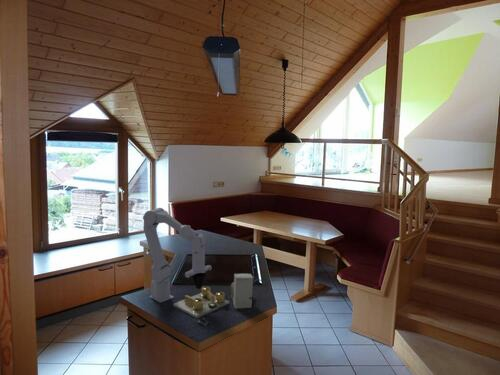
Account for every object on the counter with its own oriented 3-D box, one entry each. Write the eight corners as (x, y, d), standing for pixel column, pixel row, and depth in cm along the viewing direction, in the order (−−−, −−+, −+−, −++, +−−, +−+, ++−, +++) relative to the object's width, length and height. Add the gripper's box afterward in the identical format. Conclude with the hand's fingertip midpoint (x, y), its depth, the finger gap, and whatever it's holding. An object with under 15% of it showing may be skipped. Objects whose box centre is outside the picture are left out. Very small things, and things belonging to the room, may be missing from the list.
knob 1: (205, 307, 162) (205, 299, 162) (197, 310, 159) (197, 302, 158) (189, 300, 169) (189, 292, 169) (181, 303, 166) (181, 295, 166)
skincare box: (234, 309, 165) (235, 278, 163) (232, 303, 171) (233, 273, 169) (252, 307, 166) (253, 277, 165) (250, 302, 172) (250, 272, 170)
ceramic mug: (233, 292, 183) (233, 278, 182) (248, 294, 181) (249, 279, 180) (227, 301, 173) (228, 286, 172) (244, 303, 171) (244, 288, 170)
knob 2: (200, 294, 176) (200, 286, 176) (208, 292, 178) (208, 285, 178) (208, 303, 166) (208, 295, 166) (217, 301, 169) (217, 293, 168)
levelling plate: (172, 306, 166) (172, 295, 165) (205, 293, 181) (205, 283, 180) (196, 318, 155) (196, 306, 154) (229, 303, 170) (229, 292, 169)
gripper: (192, 265, 158) (192, 295, 160) (215, 258, 169) (215, 285, 171) (182, 262, 163) (182, 290, 164) (205, 255, 174) (205, 282, 175)
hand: (198, 288), depth 168 cm, fingers closed
